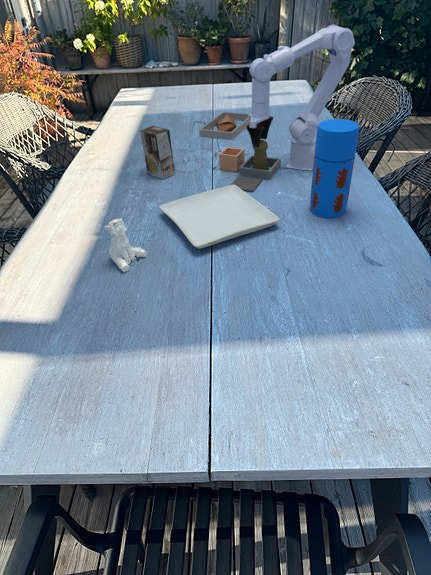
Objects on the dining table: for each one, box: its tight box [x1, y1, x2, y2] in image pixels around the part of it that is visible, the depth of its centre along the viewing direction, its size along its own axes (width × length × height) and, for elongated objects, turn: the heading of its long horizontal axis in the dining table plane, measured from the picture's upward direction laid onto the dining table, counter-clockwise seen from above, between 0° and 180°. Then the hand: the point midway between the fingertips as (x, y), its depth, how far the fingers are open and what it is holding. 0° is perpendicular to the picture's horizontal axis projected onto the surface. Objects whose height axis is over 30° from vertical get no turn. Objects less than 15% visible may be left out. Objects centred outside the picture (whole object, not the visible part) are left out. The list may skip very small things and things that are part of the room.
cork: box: [251, 139, 269, 170], centre depth 145 cm, size 6×6×11 cm
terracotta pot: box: [218, 146, 245, 173], centre depth 150 cm, size 7×7×6 cm
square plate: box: [158, 184, 281, 249], centre depth 122 cm, size 27×27×4 cm
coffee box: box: [139, 125, 176, 180], centre depth 147 cm, size 9×6×16 cm
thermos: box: [309, 118, 360, 219], centre depth 116 cm, size 11×11×25 cm
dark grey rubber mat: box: [229, 176, 263, 193], centre depth 140 cm, size 9×9×1 cm
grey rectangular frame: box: [238, 154, 282, 181], centre depth 147 cm, size 12×12×3 cm
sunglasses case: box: [216, 114, 237, 132], centre depth 185 cm, size 18×7×7 cm, turn 7°
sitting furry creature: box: [103, 217, 147, 273], centre depth 106 cm, size 10×9×12 cm
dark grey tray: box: [198, 111, 251, 141], centre depth 185 cm, size 16×26×3 cm, turn 155°
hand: (259, 142), depth 142 cm, fingers open, 7 cm apart
